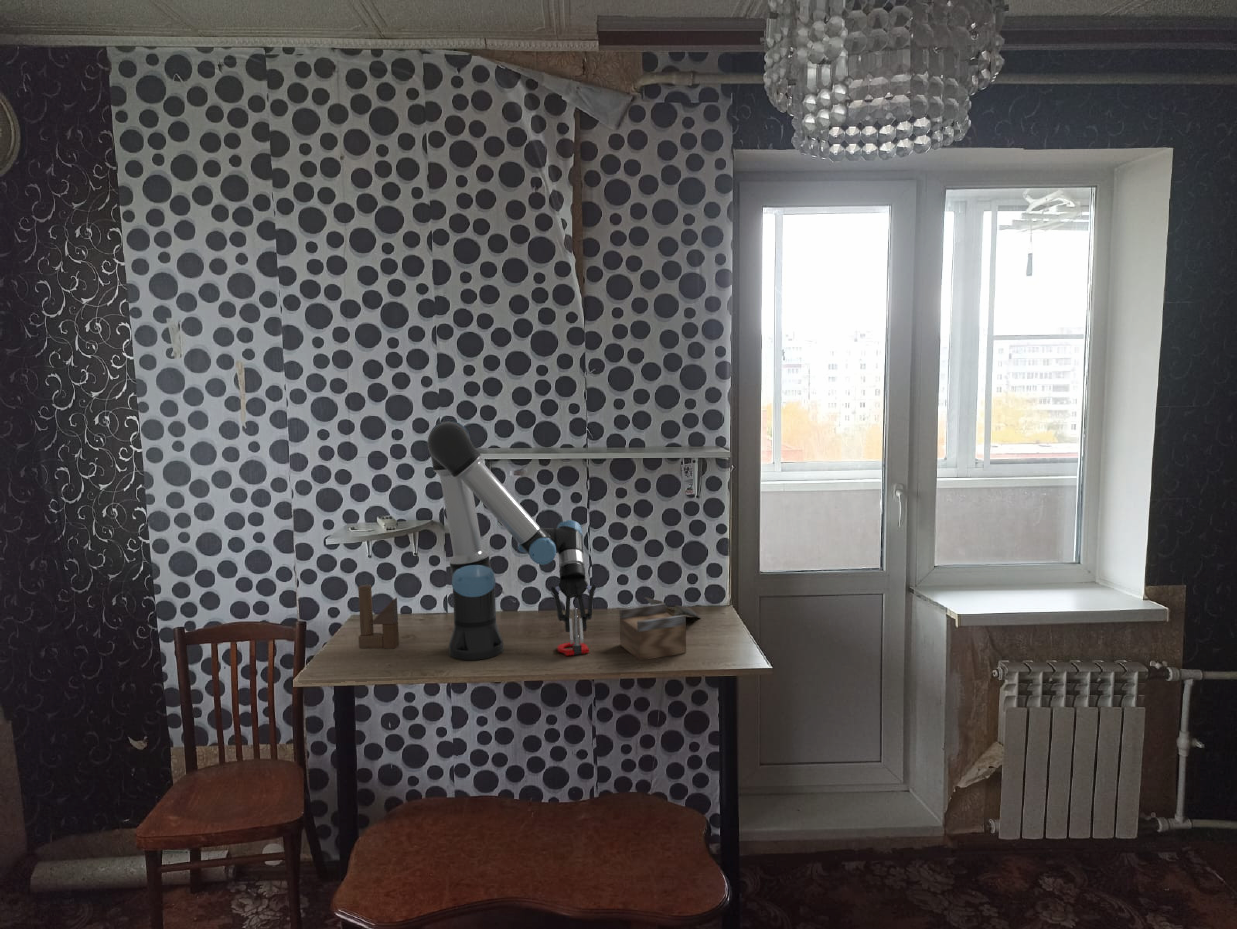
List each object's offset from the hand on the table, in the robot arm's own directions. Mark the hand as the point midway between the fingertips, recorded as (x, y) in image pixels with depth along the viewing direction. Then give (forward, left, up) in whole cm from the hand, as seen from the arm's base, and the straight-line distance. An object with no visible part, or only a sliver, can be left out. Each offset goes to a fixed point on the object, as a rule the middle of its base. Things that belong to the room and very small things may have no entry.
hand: (576, 641), depth 218 cm
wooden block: (-50, +31, -4) cm, 59 cm away
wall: (+37, +16, -4) cm, 41 cm away
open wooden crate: (+21, -4, -4) cm, 22 cm away
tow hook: (0, +4, -4) cm, 6 cm away
